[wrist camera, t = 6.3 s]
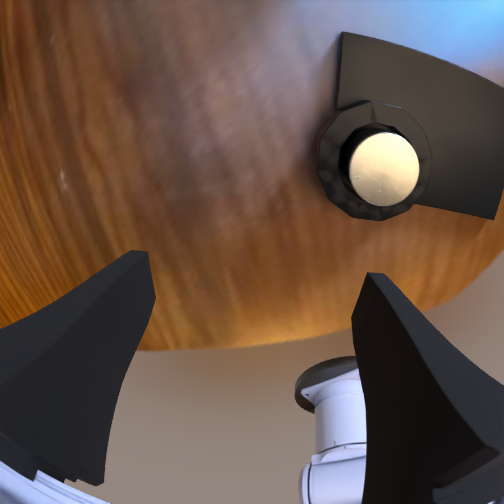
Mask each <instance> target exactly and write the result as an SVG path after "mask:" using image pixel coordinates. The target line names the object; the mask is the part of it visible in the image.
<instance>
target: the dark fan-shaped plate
mask: <svg viewBox="0 0 504 504" xmlns="http://www.w3.org/2000/svg"><path fill="white" fill-rule="evenodd" d="M372 128H380V129H385V130H388V131H390V132H392V133H395V134H397V135H399V136H401V137H403V138H404V139H406V140H407V141H408V142H409V143H410V144H411V145H412V147H413V148H414V150H415V152H416V154H417V157H418V160H419V177H418V181H417V183H416V186H415V187H414V189H413V191H412V192H411V193H410V194H409V195H408V197H406V198H405V199H404V200H402V201H401V202H399V203H397V204H394V205H390V206H377V205H373V204H370V203H368V202H366V201H365V200H363V199H362V198H361V197H360V196H359V195H358V194H357V193H356V192H355V190H354V189H353V187H352V185H351V184H350V182H349V181H348V179H347V177H346V175H345V172H344V168H343V157H344V152H345V150H346V147H347V145H348V144H349V142H350V141H351V140H352V138H353V137H354V136H356V135H357V134H358V133H360V132H362V131H364V130H367V129H372ZM314 167H315V169H316V172H317V174H318V176H319V179H320V181H321V183H322V186H323V188H324V190H325V193H326V195H327V198H328V199H329V201H331V202H332V203H333V204H335V205H336V206H337V207H339V208H340V209H341V210H343V211H344V212H345V213H347V214H348V215H349V216H351V217H353V218H359V219H367V220H374V221H383V220H386V219H389V218H391V217H394V216H396V215H399V214H401V213H404V212H406V211H407V210H409V209H410V208H411V207H412V205H413V204H419V205H424V206H430V207H435V208H440V209H445V210H450V211H455V212H459V213H464V214H469V215H473V216H478V217H482V218H486V219H490V220H494V218H495V215H496V212H497V209H498V206H499V202H500V199H501V196H502V192H503V188H504V88H503V87H502V86H500V85H498V84H496V83H494V82H492V81H490V80H488V79H486V78H484V77H482V76H480V75H478V74H476V73H474V72H471V71H469V70H467V69H465V68H462V67H460V66H458V65H455V64H453V63H450V62H448V61H445V60H443V59H440V58H438V57H435V56H432V55H429V54H427V53H424V52H421V51H418V50H415V49H412V48H408V47H405V46H402V45H398V44H395V43H391V42H388V41H384V40H380V39H376V38H372V37H367V36H363V35H358V34H354V33H348V32H341V34H340V49H339V64H338V76H337V88H336V99H335V109H334V113H333V114H332V115H331V117H330V118H329V119H328V121H327V122H326V123H325V125H324V126H323V127H322V128H321V130H320V131H319V132H318V135H317V139H316V148H315V157H314Z"/></svg>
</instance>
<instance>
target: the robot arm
mask: <svg viewBox="0 0 504 504" xmlns="http://www.w3.org/2000/svg"><path fill="white" fill-rule="evenodd" d="M155 299H156V296H155V291H154V286H153V280H152V274H151V269H150V263H149V257H148V252H146V251H137V250H131V251H129V252H127V253H126V254H124V255H122V256H121V257H119V258H118V259H116V260H115V261H113V262H112V263H111V264H109V265H108V266H106V267H105V268H103V269H102V270H101V271H99V272H98V273H96V274H95V275H93V276H92V277H91V278H89V279H88V280H86V281H85V282H83V283H82V284H80V285H79V286H77V287H76V288H74V289H73V290H71V291H70V292H68V293H67V294H65V295H64V296H62V297H61V298H59V299H58V300H56V301H54V302H53V303H51V304H49V305H48V306H46V307H44V308H42V309H41V310H39V311H37V312H35V313H33V314H31V315H29V316H27V317H25V318H23V319H21V320H19V321H17V322H15V323H13V324H11V325H9V326H6V327H4V328H2V329H0V504H111V503H108V502H105V501H103V500H100V499H97V498H95V497H93V496H90V495H88V494H86V493H83V492H81V491H79V490H77V489H74V488H72V487H70V486H68V485H66V484H64V480H65V478H66V479H68V480H71V481H73V482H76V480H77V479H79V480H81V481H84V482H86V483H88V484H91V485H94V486H98V485H100V484H102V483H104V473H105V461H106V453H107V446H108V441H109V434H110V429H111V424H112V420H113V415H114V411H115V407H116V403H117V399H118V396H119V392H120V389H121V385H122V382H123V380H124V377H125V374H126V372H127V370H128V367H129V365H130V363H131V360H132V358H133V356H134V354H135V351H136V349H137V347H138V345H139V343H140V340H141V338H142V336H143V334H144V331H145V329H146V327H147V325H148V322H149V319H150V316H151V313H152V309H153V306H154V303H155ZM351 320H352V333H353V344H354V349H355V354H356V359H357V364H358V369H355V370H353V371H350V372H348V373H345V374H343V375H340V376H338V377H335V378H332V379H330V380H327V381H324V382H322V383H319V384H316V385H313V386H311V387H308V388H305V389H302V390H301V394H302V395H303V396H304V397H305V398H306V399H308V400H309V401H310V402H311V403H312V404H314V405H315V455H312V456H311V459H312V461H311V463H307V464H306V465H305V466H304V467H303V468H302V470H301V472H300V476H299V500H300V504H504V385H502V384H501V383H499V382H498V381H496V380H495V379H494V378H492V377H491V376H489V375H488V374H487V373H485V372H484V371H483V370H481V369H480V368H479V367H478V366H476V365H475V364H474V363H473V362H471V361H470V360H469V359H468V358H467V357H466V356H464V355H463V354H462V353H461V352H460V351H459V350H458V349H457V348H455V347H454V346H453V345H452V344H451V343H450V342H449V341H448V340H447V339H446V338H445V337H444V336H443V335H442V334H441V333H440V332H439V331H438V330H437V329H436V328H435V327H434V326H433V325H432V324H431V323H430V322H429V321H428V320H427V319H426V318H425V317H424V315H423V314H422V313H421V312H420V311H419V310H418V309H417V308H416V307H415V306H414V305H413V304H412V302H411V301H410V300H409V299H408V298H407V297H406V296H405V295H404V294H403V293H402V292H401V290H400V289H399V288H398V287H397V286H396V285H395V284H394V283H393V282H392V281H391V280H390V279H389V278H388V277H387V276H386V275H385V274H383V273H371V272H367V274H366V277H365V280H364V283H363V286H362V289H361V292H360V295H359V297H358V300H357V303H356V306H355V308H354V311H353V314H352V316H351Z"/></svg>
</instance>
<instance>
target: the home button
mask: <svg viewBox="0 0 504 504" xmlns="http://www.w3.org/2000/svg"><path fill="white" fill-rule="evenodd" d="M343 168H344V172H345V175H346V177H347V179H348V181H349V182H350V184H351V185H352V187H353V189H354V190H355V192H356V193H357V194H358V195H359V196H360V197H361V198H362V199H363V200H365V201H366V202H368V203H370V204H373V205H377V206H390V205H394V204H397V203H399V202H401V201H402V200H404V199H405V198H406V197H408V195H409V194H410V193H411V192H412V191H413V189H414V187H415V186H416V183H417V181H418V177H419V160H418V157H417V154H416V152H415V150H414V148H413V147H412V145H411V144H410V143H409V142H408V141H407V140H406V139H404V138H403V137H401V136H399V135H397V134H395V133H392V132H390V131H388V130H385V129H380V128H372V129H367V130H364V131H362V132H360V133H358V134H357V135H356V136H354V137H353V138H352V140H351V141H350V142H349V144H348V145H347V147H346V150H345V152H344V157H343Z"/></svg>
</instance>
